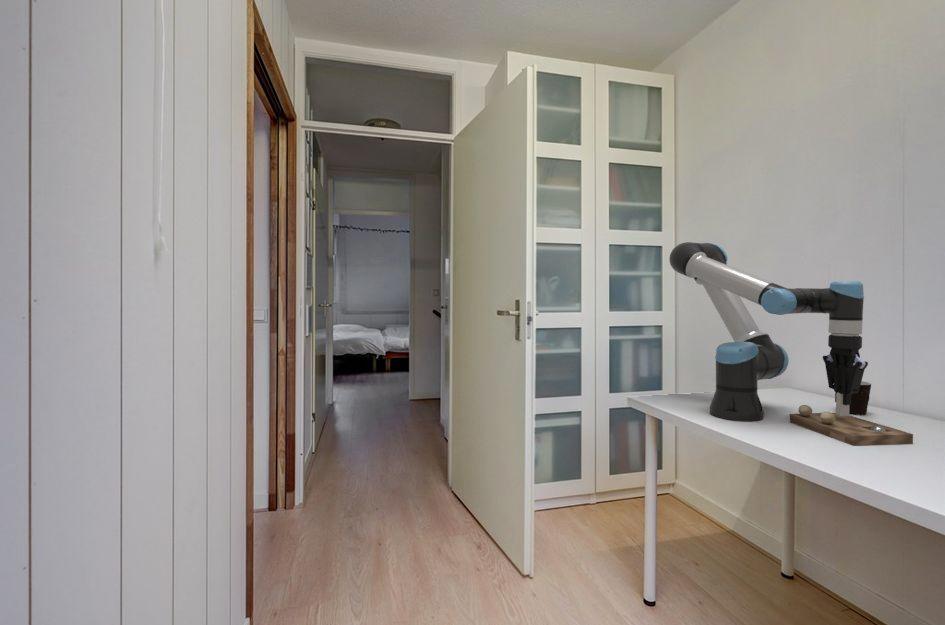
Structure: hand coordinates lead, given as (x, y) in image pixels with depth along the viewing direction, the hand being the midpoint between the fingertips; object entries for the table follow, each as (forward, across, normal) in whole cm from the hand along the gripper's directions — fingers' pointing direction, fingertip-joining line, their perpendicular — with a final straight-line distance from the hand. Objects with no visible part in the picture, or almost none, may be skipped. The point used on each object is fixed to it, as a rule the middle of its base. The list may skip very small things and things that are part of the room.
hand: (842, 415), depth 132 cm
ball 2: (-1, -4, +8) cm, 9 cm away
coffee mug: (+4, +14, -16) cm, 22 cm away
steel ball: (+2, -11, 0) cm, 11 cm away
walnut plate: (+4, -4, +3) cm, 6 cm away
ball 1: (0, +4, +8) cm, 9 cm away
